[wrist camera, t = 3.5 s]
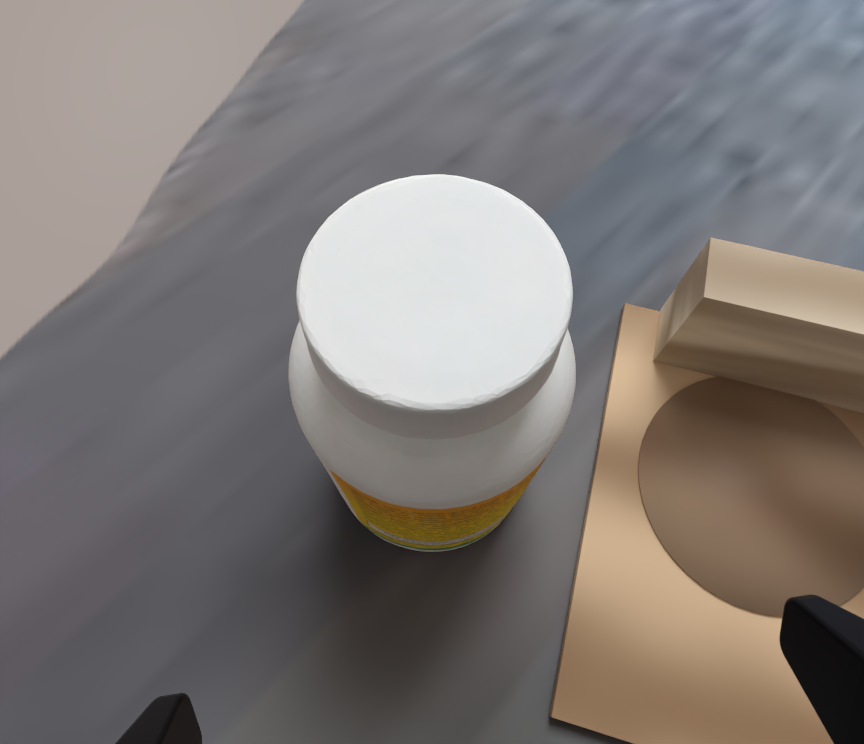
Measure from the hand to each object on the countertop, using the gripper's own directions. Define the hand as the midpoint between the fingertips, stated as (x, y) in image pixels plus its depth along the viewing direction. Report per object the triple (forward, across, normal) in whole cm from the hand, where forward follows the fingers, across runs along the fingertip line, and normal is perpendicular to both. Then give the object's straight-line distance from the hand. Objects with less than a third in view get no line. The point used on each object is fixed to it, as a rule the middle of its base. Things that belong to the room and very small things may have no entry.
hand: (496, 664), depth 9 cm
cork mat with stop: (+11, -11, +7) cm, 17 cm away
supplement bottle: (+14, 0, +4) cm, 14 cm away
